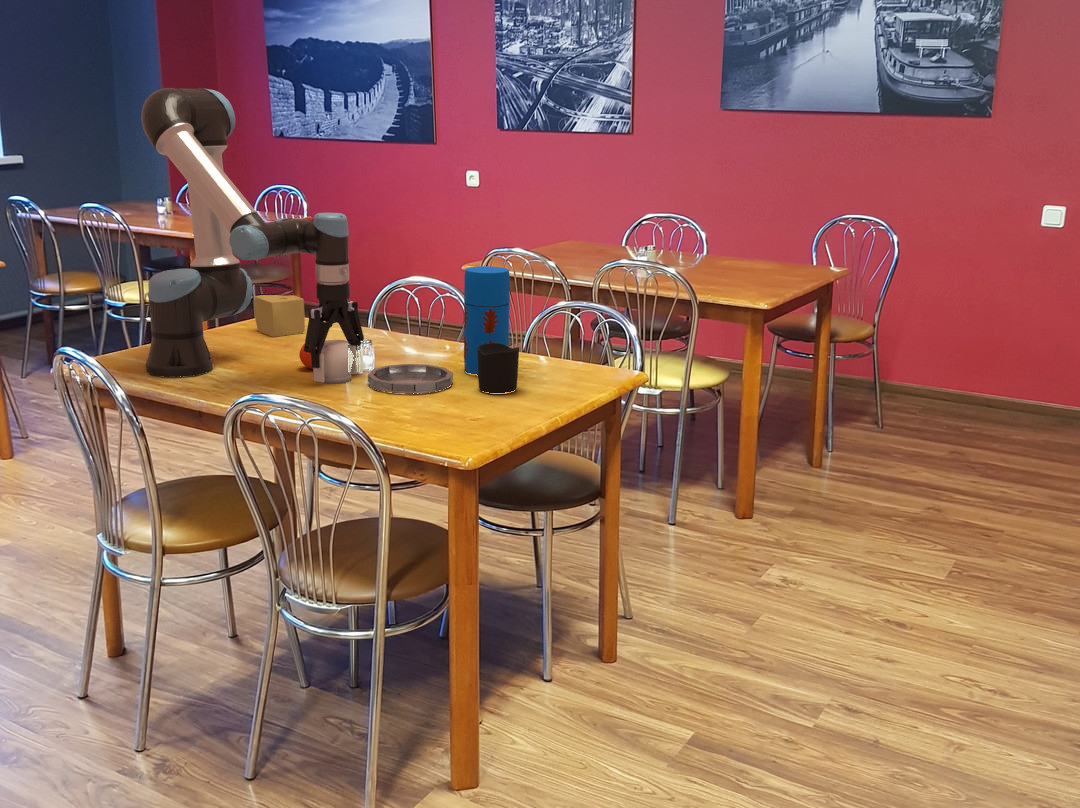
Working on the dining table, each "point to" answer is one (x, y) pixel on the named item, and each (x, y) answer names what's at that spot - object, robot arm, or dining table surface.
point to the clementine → (306, 358)
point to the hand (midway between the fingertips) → (335, 376)
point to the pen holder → (497, 368)
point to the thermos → (485, 310)
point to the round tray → (410, 378)
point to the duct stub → (336, 362)
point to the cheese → (279, 314)
